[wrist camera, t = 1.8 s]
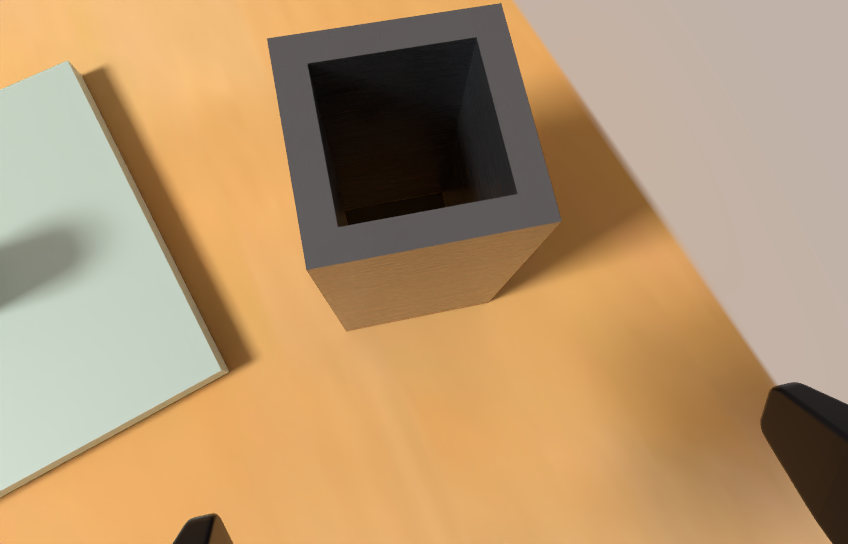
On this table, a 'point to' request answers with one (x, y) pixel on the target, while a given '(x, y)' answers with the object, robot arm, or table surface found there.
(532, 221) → the square open box
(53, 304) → the pin board
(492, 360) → the table surface
